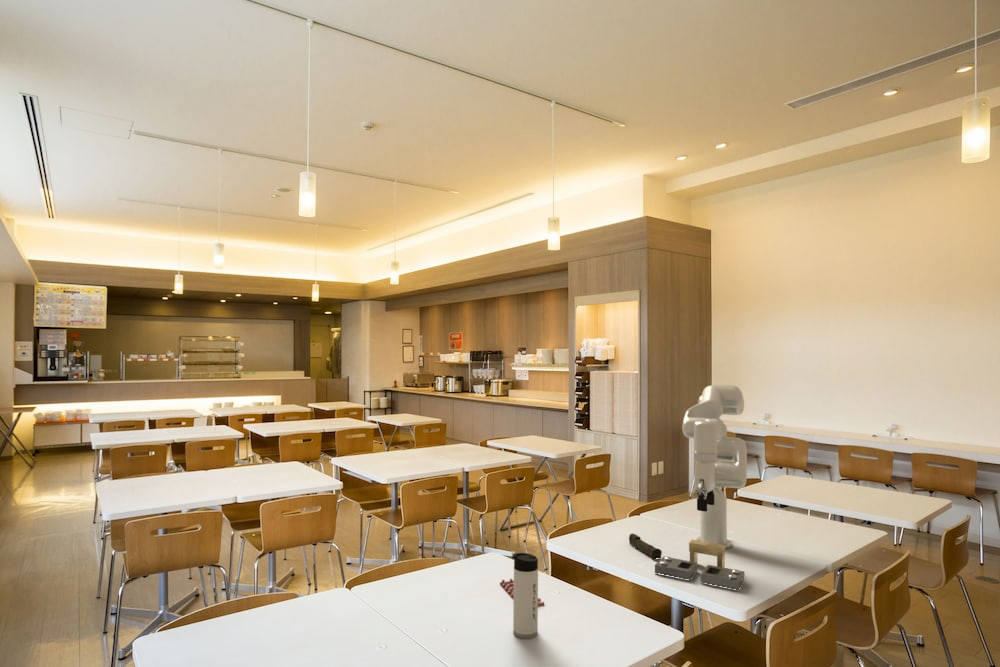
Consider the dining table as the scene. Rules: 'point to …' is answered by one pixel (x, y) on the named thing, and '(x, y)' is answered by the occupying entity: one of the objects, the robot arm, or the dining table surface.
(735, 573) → the block
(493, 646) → the dining table surface
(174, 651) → the dining table surface
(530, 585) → the travel mug
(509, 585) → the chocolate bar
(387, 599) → the dining table surface
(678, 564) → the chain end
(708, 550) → the link
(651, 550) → the dark brown rod
